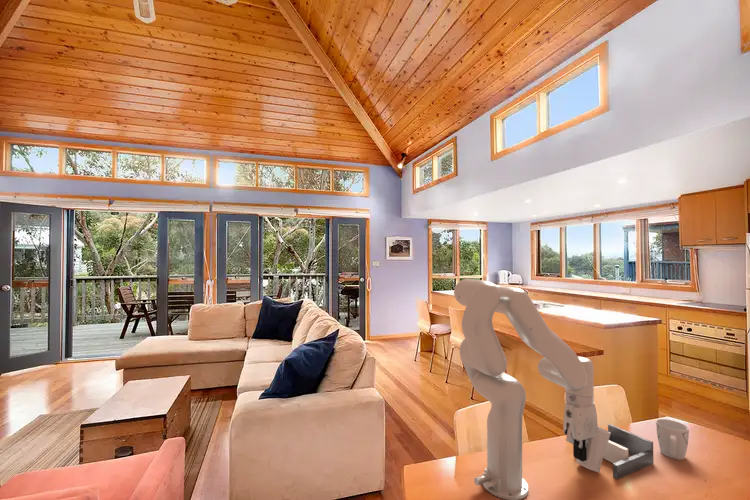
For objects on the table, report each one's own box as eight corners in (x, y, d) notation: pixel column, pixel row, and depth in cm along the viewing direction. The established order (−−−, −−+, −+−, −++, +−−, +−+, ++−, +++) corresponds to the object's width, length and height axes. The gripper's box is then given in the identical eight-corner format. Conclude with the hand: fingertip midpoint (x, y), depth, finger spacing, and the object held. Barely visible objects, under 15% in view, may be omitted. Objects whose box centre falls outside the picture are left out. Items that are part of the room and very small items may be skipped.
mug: (691, 469, 109) (691, 437, 109) (657, 459, 114) (656, 429, 114) (687, 453, 118) (687, 423, 118) (655, 445, 123) (655, 416, 123)
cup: (594, 465, 112) (601, 427, 114) (608, 477, 104) (616, 435, 106) (568, 456, 113) (576, 419, 115) (581, 467, 105) (589, 426, 107)
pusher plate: (625, 469, 108) (625, 450, 108) (593, 453, 117) (593, 435, 117) (628, 468, 109) (628, 448, 109) (596, 452, 118) (596, 434, 118)
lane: (617, 479, 104) (616, 455, 104) (574, 456, 116) (574, 434, 116) (653, 463, 112) (653, 441, 112) (610, 443, 124) (610, 423, 124)
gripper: (574, 407, 101) (575, 471, 100) (607, 398, 107) (607, 459, 106) (551, 397, 107) (552, 458, 107) (583, 390, 114) (584, 447, 113)
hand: (579, 458), depth 107 cm, fingers closed
